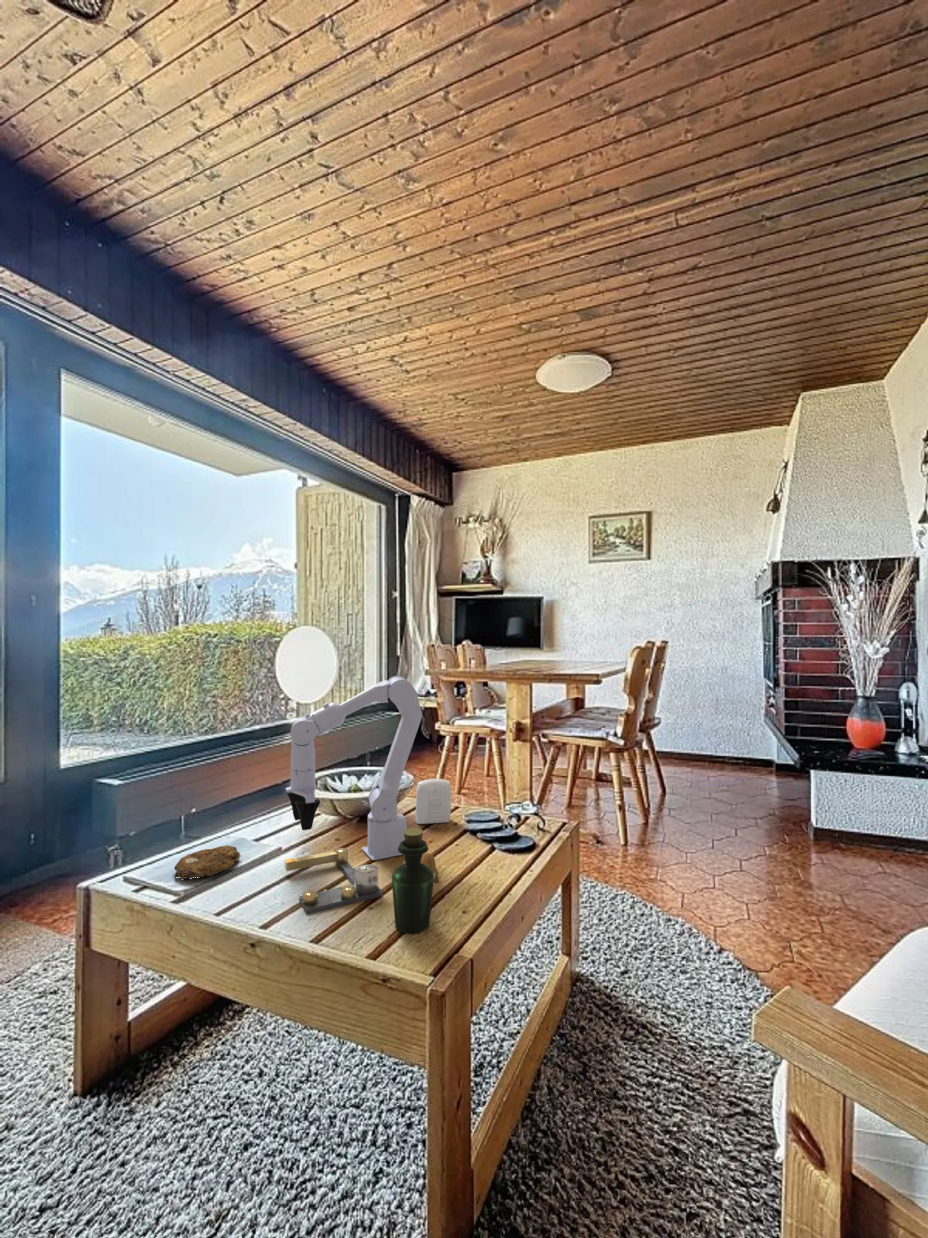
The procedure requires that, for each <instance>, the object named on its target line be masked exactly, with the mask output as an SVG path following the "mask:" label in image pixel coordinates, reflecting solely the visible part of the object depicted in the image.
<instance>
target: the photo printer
mask: <svg viewBox="0 0 928 1238" xmlns="http://www.w3.org/2000/svg"><path fill="white" fill-rule="evenodd" d="M415 792H416V795H415V797H416V798H415V799H416V800H415V823H416V824H417V825H425V824H426V825H427V824H442V823H443V824H445V823H450V822H451V813H452V812H451V810H452V808H451V807H452V803H451V802H452V788H451V781H449V780H446V779H444V778H443V779H441V778H429V779H425V780H421V781H418V782H417V784H416V791H415Z"/></svg>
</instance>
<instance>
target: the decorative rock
mask: <svg viewBox="0 0 928 1238" xmlns="http://www.w3.org/2000/svg"><path fill="white" fill-rule="evenodd" d="M237 849H238V848H237V847H236V846H231V845H223V846H222V845H221V846H217V847H214V848H205V849H200V850H197V851H194V852H192V853H188V854H186V855H185V856H183V857H181V858H180V859H179V860H178V861H177V863H176V864H175V865H174V870H175V871H176V872H175V874H174V876H176V877H181V878H180V880H181V879H184V878H185V877H186V878H185V879H189V880H190V878H193V877H194V878H195V877H196V878H197V877H201V878H203V879H204V878H205V876H206V877H208V876H209V877H208V878H210V877H211V876H213V875H216V874H217V873H221V872H225V870H227V869H229V868H232V866H233V865H234V864H235V863H237V862H238V861H239V860H240V859H241V858H240V857H242V855H241V853H240V852H239V851H238V850H237ZM236 861H237V862H236ZM204 875H205V876H204Z"/></svg>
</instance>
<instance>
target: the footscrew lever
mask: <svg viewBox="0 0 928 1238" xmlns="http://www.w3.org/2000/svg"><path fill="white" fill-rule="evenodd" d="M348 858H349V849H348V848H346V847H339V848H336V849H335V850H331V851H327V852H320V853H315V854H309V855H306V856H305V855H304V856H300V857H291V858H286V859H284V870H285V871H286V872H290V871H294V870H300V869H305V868H310V867H315V866H322V865H327V864H331V863H334V865H335V866H337V867H339V863H344V862H348V863H349V859H348Z"/></svg>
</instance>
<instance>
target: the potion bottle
mask: <svg viewBox="0 0 928 1238" xmlns="http://www.w3.org/2000/svg"><path fill="white" fill-rule="evenodd" d="M403 833H404V838H405V840H403V841H402V842H400V844H399V847H398V852H399V853H401V854H403V858H404V860H405V863H404V864H403V863H402V864H403V865H402V864H401V865H399V866H398V867H395V869H394V870H393V873H392V874H391V887H392V899H393V900H392V901H393V912H394V913H393V914H394V915H393V916H394V925H395V928H396V929H397V930H398V931H400V932H401V933H403V934H408V935H409V934H410V935H414V934H419V933H422V932H424V931H426V929H428V928H429V926H430V921H431V913H432V911H431V910H432V902H433V901H432V899H433V892H434V878H435V874H434V873H433V872H432V870H431V869H430V867H428V866H427V865H425V864H422V863H420V862H421V859H422V855H423V854H427V852H428V851H429V847H428V844H427V841H426V840H424V839H422V838H423V834H424V831H423V829H421V828H419V827H418V828H417V827H410V828H407V829H406V830H404V831H403Z"/></svg>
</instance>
